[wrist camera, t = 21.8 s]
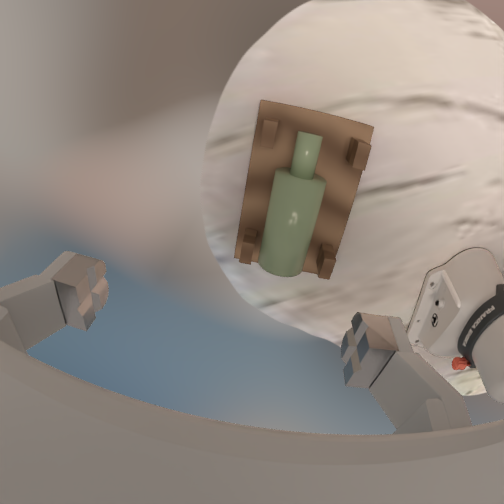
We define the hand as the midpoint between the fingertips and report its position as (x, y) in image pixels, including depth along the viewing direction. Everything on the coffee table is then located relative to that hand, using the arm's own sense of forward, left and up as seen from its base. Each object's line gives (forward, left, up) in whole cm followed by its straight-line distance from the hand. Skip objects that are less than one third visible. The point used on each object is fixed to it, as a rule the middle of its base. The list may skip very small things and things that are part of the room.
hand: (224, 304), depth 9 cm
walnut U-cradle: (-6, -5, -31) cm, 32 cm away
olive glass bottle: (-15, -4, -27) cm, 31 cm away
